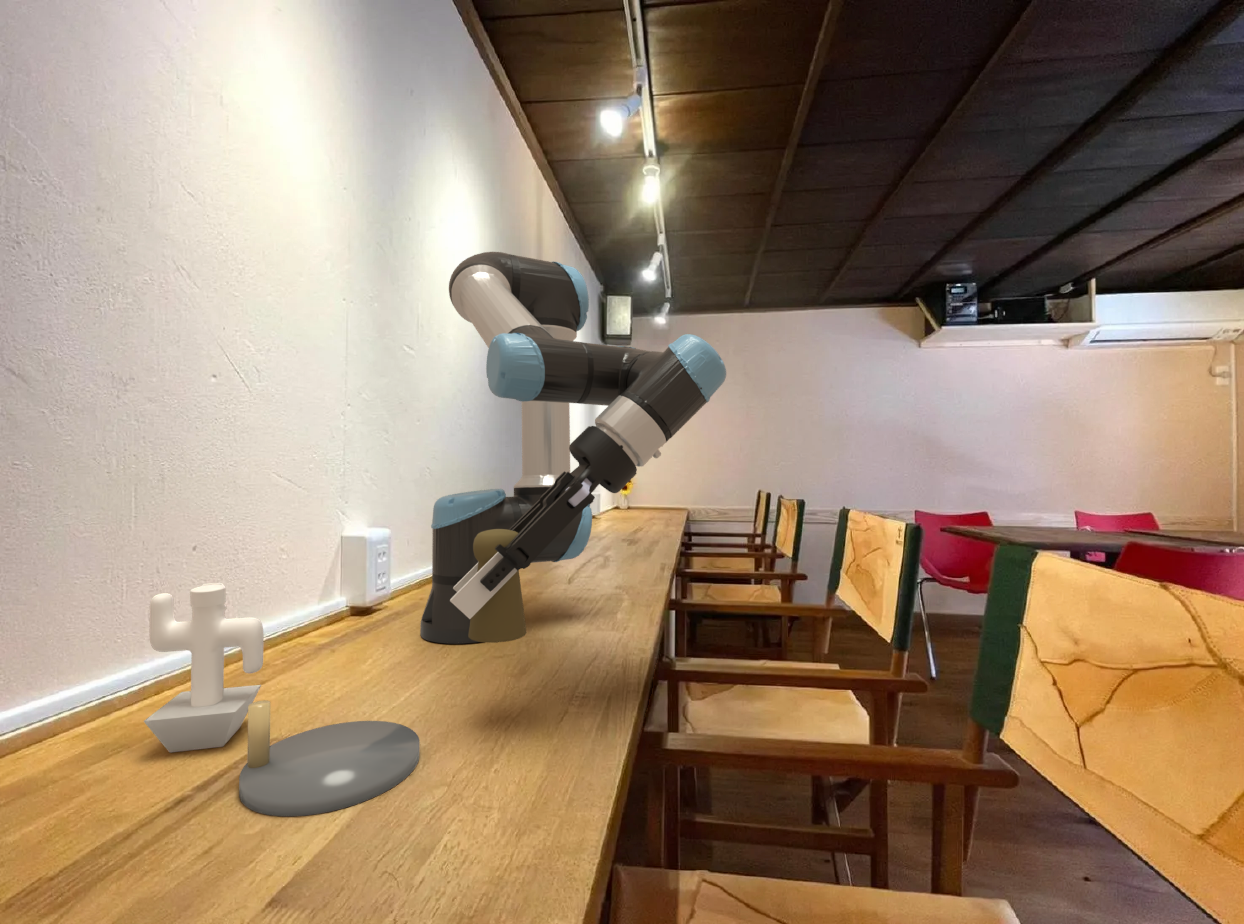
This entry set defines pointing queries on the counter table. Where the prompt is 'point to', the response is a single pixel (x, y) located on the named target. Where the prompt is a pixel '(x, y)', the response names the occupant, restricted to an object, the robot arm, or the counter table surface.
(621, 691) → the counter table surface
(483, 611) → the brown rounded upright piece
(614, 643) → the counter table surface
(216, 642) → the figurine
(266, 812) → the coaster plate
